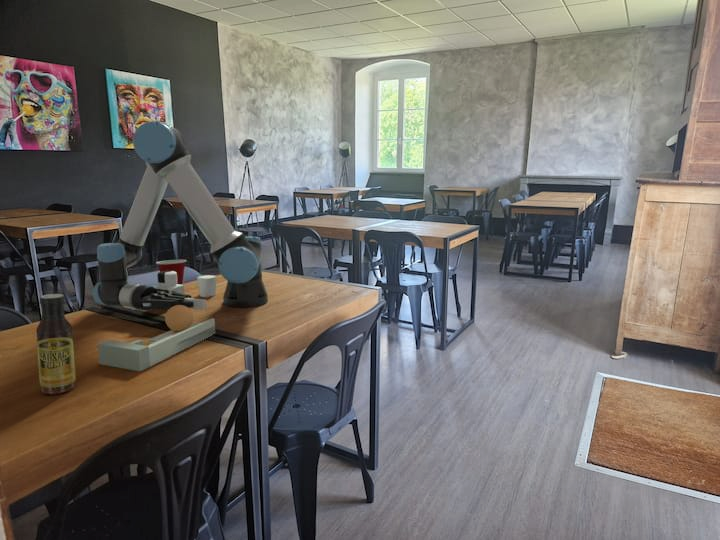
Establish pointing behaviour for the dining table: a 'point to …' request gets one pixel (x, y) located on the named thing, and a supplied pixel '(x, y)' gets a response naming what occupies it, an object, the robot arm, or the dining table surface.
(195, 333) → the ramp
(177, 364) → the dining table surface
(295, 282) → the dining table surface
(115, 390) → the dining table surface
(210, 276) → the white tapered cup
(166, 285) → the medicine bottle
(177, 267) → the plastic cup
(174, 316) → the ball
